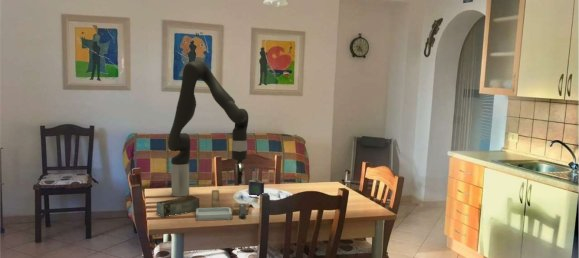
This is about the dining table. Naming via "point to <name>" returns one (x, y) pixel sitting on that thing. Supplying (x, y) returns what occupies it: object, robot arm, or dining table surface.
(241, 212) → the stop post
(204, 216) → the tray
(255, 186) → the flask
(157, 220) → the dining table surface
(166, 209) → the beverage carton
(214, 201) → the tan cylinder
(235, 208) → the tan flat block
